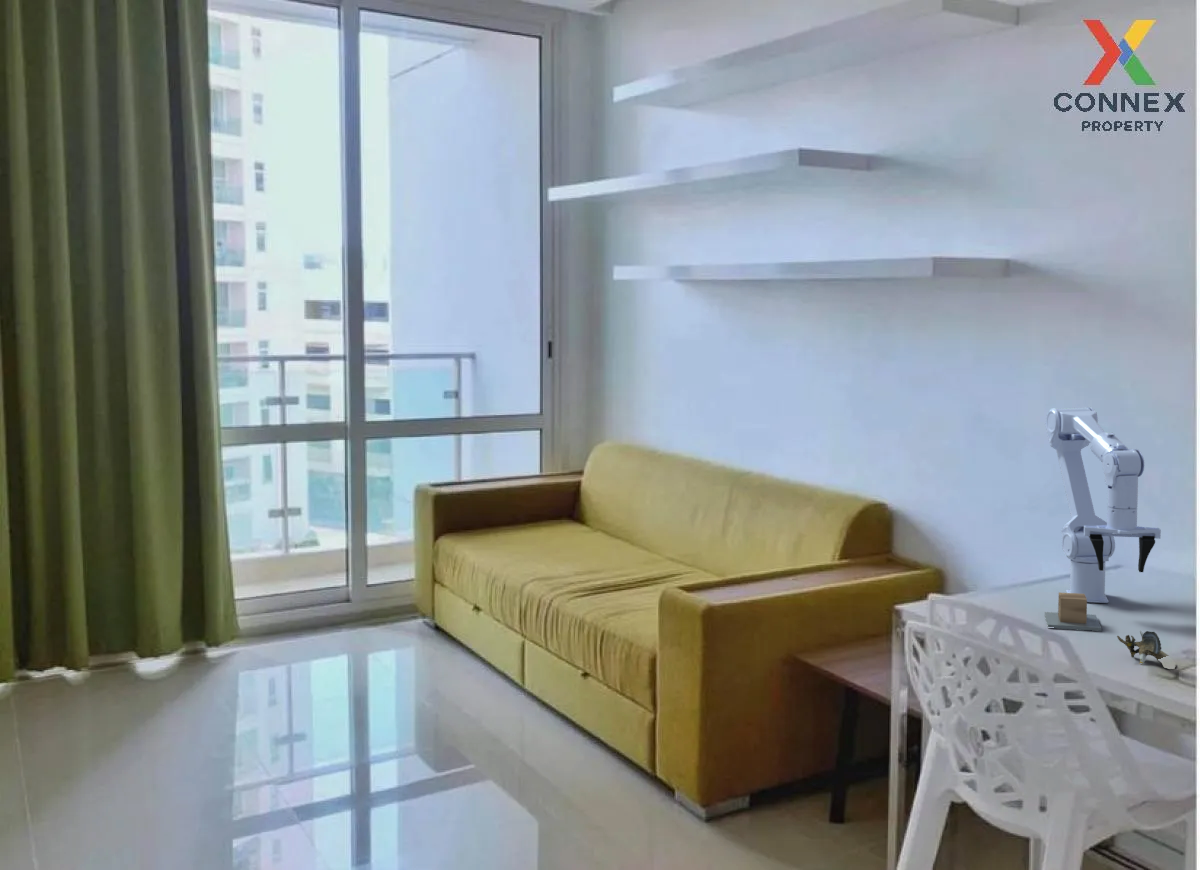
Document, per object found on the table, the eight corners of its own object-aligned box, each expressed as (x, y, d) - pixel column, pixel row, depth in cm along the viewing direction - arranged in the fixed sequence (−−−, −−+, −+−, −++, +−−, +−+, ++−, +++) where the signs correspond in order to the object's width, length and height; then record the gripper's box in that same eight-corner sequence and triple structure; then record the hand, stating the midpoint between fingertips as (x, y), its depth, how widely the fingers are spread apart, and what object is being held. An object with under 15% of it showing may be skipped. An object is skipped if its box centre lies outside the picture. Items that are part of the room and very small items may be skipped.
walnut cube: (1058, 615, 231) (1058, 592, 231) (1083, 617, 230) (1084, 593, 229) (1060, 621, 227) (1060, 598, 226) (1086, 623, 225) (1086, 599, 225)
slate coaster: (1044, 615, 235) (1044, 612, 234) (1095, 618, 231) (1095, 614, 231) (1048, 628, 225) (1048, 624, 225) (1101, 631, 222) (1101, 627, 222)
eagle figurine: (1111, 656, 203) (1156, 659, 195) (1120, 620, 205) (1165, 622, 197) (1136, 672, 206) (1181, 676, 198) (1144, 637, 208) (1189, 639, 200)
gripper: (1086, 509, 229) (1085, 573, 230) (1163, 511, 224) (1162, 576, 226) (1083, 503, 235) (1082, 565, 237) (1158, 505, 231) (1156, 568, 232)
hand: (1120, 570), depth 232 cm, fingers open, 7 cm apart
